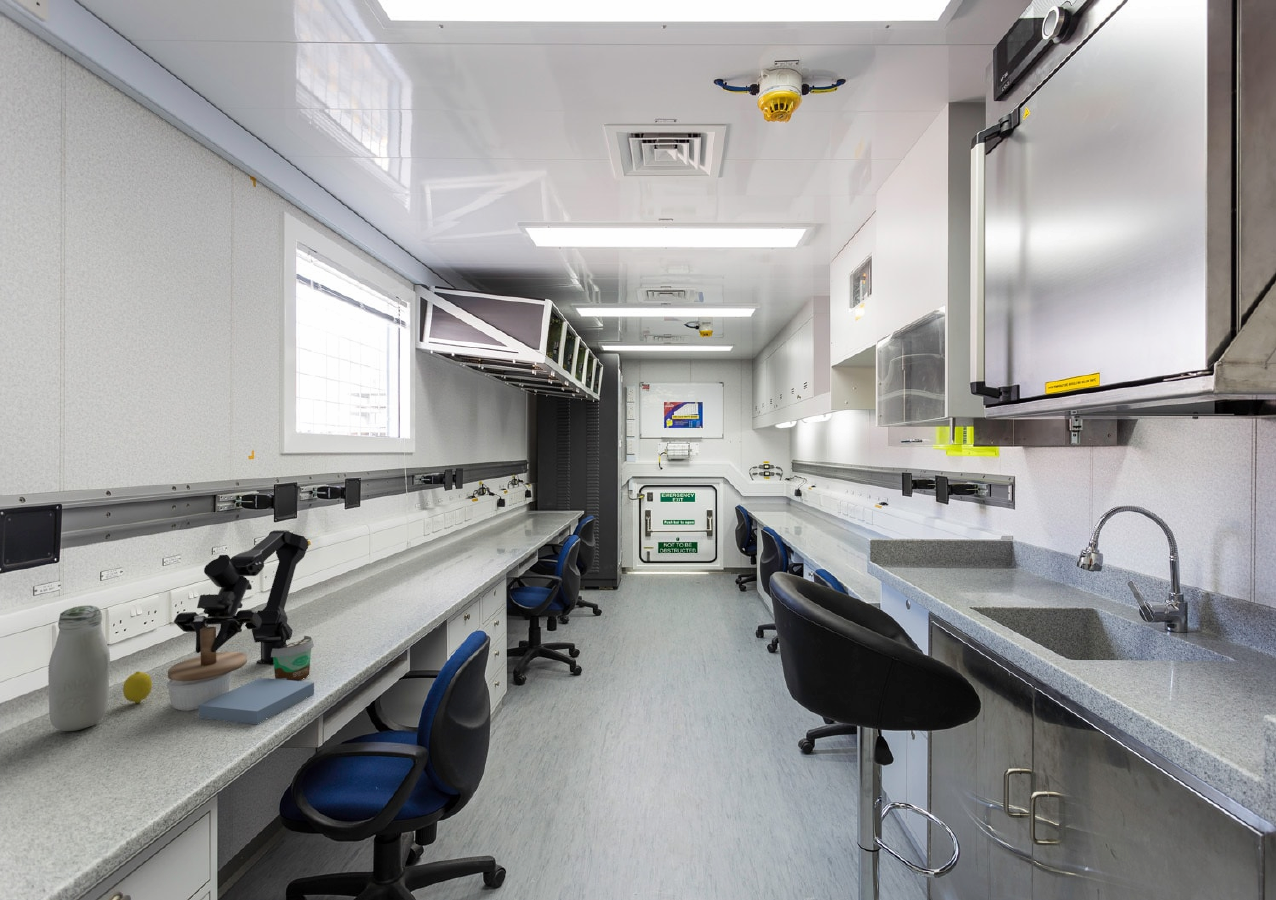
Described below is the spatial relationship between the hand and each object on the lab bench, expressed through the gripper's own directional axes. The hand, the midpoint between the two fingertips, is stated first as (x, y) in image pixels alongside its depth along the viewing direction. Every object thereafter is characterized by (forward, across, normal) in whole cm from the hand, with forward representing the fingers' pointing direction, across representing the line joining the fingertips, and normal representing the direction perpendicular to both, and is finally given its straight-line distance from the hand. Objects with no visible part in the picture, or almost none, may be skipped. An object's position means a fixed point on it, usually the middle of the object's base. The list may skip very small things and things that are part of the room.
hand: (204, 651), depth 143 cm
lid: (+2, 0, +4) cm, 5 cm away
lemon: (+7, -18, +12) cm, 23 cm away
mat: (+11, +14, +8) cm, 19 cm away
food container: (-1, +15, +20) cm, 25 cm away
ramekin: (+8, -3, +12) cm, 14 cm away
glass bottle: (+16, -22, +3) cm, 27 cm away
